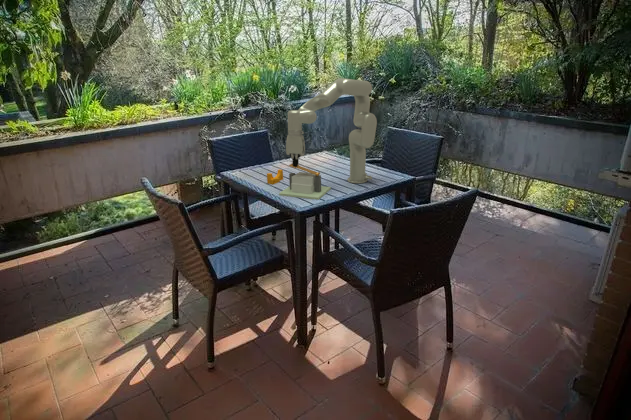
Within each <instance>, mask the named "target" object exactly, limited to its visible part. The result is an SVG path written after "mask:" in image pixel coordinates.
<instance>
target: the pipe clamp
mask: <svg viewBox="0 0 631 420" xmlns="http://www.w3.org/2000/svg"><path fill="white" fill-rule="evenodd" d="M266 180H267V181H266V183H267V185H275V184H279V183H280V181H283V180H284V170H283V169H279V168H278V169H277V173H276V175H275V176H273V173H272V172H271V173H270V172H269V173H268V172H267V173H266Z"/></svg>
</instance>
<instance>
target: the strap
mask: <svg viewBox="0 0 631 420" xmlns="http://www.w3.org/2000/svg"><path fill="white" fill-rule="evenodd" d="M288 166H289V167H291V168H294V169H298V170H301V171H303V172H306V173H312V174H315V175H316V176H318V175H321V172H320V171H315V170H312V169H309V168H307V167H304V166H301V165H300V164H298V165H297V166H293V162H291V163H290V164H289V165H288Z"/></svg>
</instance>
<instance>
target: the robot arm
mask: <svg viewBox="0 0 631 420" xmlns="http://www.w3.org/2000/svg"><path fill="white" fill-rule="evenodd" d="M372 90H373V86H372V84H371V82H369V81H368V80H363V79H362V80H361V79H352V78H346V77H345V78H343V77H340V78H339V77H338V78H337V79H335V80H334V81H333V82H332V83H330V84H329V86H328V87H326V88H325V89H324V90H323V91H322V92H320V93H319V94H317V95H315V96H314V97H312V98H311V99H309V100H307V101H306V102H305V103H304V104H302V106H300V107H299V108H298V109H293V110H292V109H291V110H288V112H287V136H286V143H285V151H286V152H285V153H286V155H287V156H289V157H290V158H291V159H292V163H293V166H297V165H300V163H299V159H300V158H301V157H304V156H305V153H306V145H305V138H304V134H305V132H304V131H303V129H302V128H303V126H302V125H303V124H307V125H311V124H314V123H315V122H316V120H317V113H316V111H318V110H322V109H324V108H328V107H330V106H332V105H333V104H334V103H335V102H336V101H337V100H338V99H340V98H341V96H342V95H345V96H346V95H347V96H353V97H354V101H355V102H354V103H355V105H354V106H355V107H354V112H353V124H354V126H355V127H357V128H359V129H353V130H352V131H350V132H349V135H348V144H349V177H347V180H346V181H347V182H349V183H351V184H364V183H366V182H368V181H369V180H372V179H373V176H372V175H368V174H367V173H366V167H367V166H366V165H367V164H366V159H367V158H366V157H367V151H366V149H370V148H371V147H372V146H373V144H374V142H375V138H376V131H377V125H378V121H377V117H376V116H375V114H374V113H372V112H370V107H371V99H370V95H371V93H372ZM360 128H361V129H360Z"/></svg>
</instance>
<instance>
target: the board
mask: <svg viewBox="0 0 631 420" xmlns="http://www.w3.org/2000/svg"><path fill="white" fill-rule="evenodd" d="M288 177H289V181H288V182H289V186H287V187H286V188H284V189H283V190H281V191H280V192H279V193H278V195H279V196H281V197H291V198H299V199H310V200H320V199H321V198H322V197H324V196H325V194H327V193H328V192H329V191H330V190H331V189H332V187H331V186H323V185H322V175H321V174H320V175H318V176H316V175H315V174H312V173H309V172H306V171H298V172H297V173H295V172H290V173H289V175H288Z"/></svg>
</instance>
